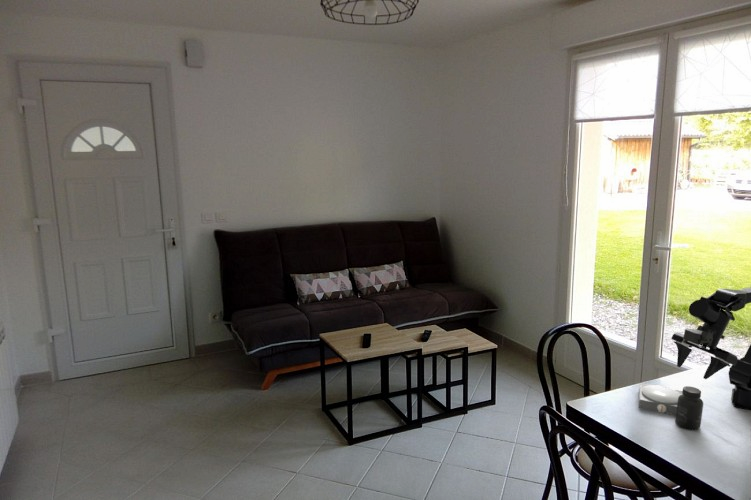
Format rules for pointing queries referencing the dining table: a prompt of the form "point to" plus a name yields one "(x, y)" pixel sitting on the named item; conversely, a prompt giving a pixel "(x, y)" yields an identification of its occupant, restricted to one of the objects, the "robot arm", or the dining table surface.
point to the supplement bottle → (689, 409)
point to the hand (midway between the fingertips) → (691, 372)
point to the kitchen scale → (658, 398)
